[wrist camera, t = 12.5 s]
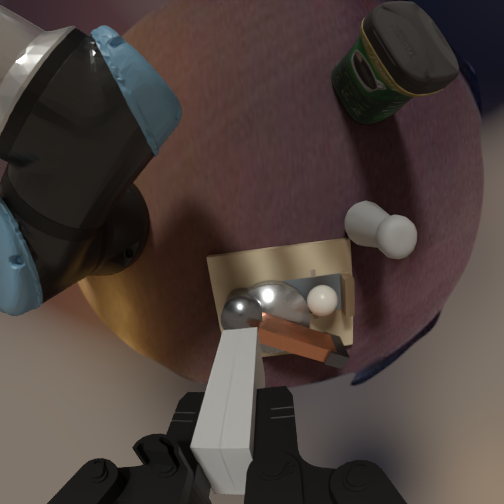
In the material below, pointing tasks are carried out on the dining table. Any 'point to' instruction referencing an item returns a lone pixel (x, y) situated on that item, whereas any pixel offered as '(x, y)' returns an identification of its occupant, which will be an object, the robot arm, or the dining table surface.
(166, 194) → the dining table surface
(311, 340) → the grey round-based piece
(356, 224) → the salt shaker
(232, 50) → the dining table surface
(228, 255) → the stand
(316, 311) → the ball
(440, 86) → the coffee jar
